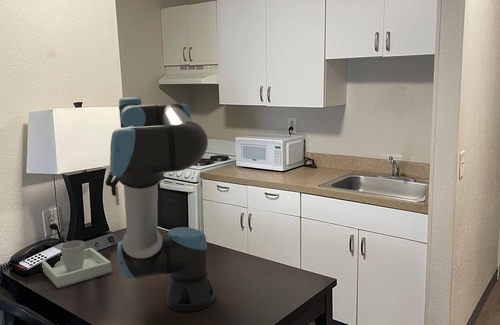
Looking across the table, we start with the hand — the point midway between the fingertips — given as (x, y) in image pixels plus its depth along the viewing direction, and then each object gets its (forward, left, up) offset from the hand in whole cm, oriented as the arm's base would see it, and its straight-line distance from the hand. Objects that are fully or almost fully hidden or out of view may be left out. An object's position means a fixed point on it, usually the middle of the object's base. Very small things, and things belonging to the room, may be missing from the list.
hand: (137, 201), depth 162 cm
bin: (+17, +18, -27) cm, 36 cm away
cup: (+17, +19, -26) cm, 36 cm away
